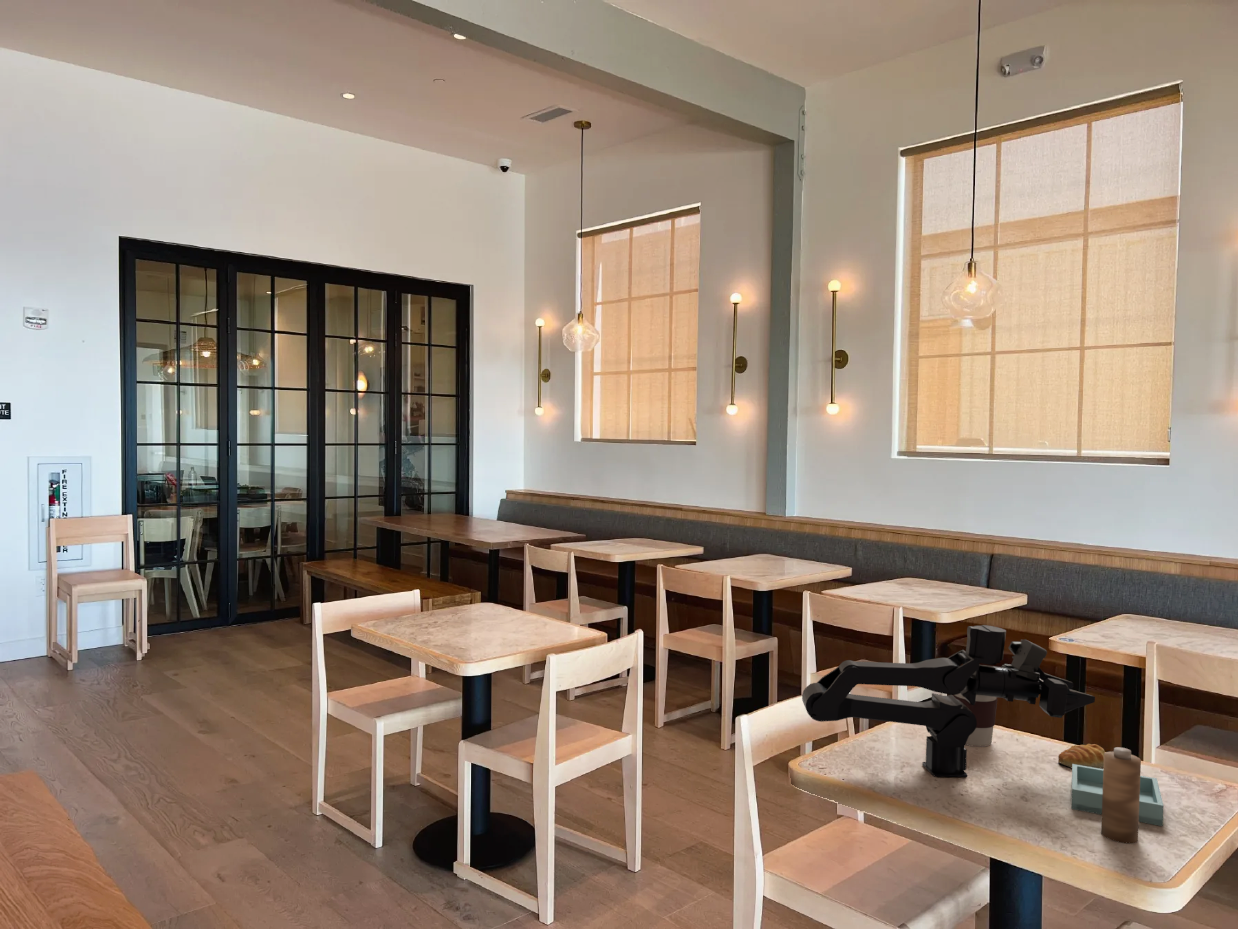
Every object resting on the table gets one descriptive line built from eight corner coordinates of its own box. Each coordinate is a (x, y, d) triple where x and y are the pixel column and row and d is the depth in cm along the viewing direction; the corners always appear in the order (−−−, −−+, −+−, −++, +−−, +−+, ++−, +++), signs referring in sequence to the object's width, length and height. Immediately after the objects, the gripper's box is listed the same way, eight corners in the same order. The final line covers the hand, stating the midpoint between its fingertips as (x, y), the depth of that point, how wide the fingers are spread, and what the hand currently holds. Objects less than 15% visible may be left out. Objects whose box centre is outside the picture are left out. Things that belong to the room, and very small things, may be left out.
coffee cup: (993, 753, 178) (996, 681, 178) (943, 743, 184) (945, 673, 183) (1002, 739, 187) (1004, 670, 186) (954, 730, 192) (956, 663, 192)
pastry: (1075, 773, 169) (1076, 754, 169) (1048, 761, 175) (1048, 742, 175) (1112, 768, 172) (1113, 749, 172) (1084, 757, 178) (1084, 738, 178)
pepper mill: (1113, 843, 139) (1116, 755, 138) (1094, 828, 144) (1097, 744, 143) (1145, 843, 139) (1148, 756, 138) (1125, 829, 144) (1128, 744, 143)
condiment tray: (1071, 808, 152) (1072, 789, 151) (1071, 782, 164) (1072, 764, 163) (1162, 826, 145) (1163, 805, 145) (1156, 797, 157) (1156, 778, 157)
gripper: (1022, 652, 157) (1112, 663, 156) (987, 630, 176) (1067, 639, 174) (1015, 713, 157) (1104, 724, 156) (981, 684, 176) (1060, 693, 175)
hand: (1083, 692), depth 165 cm, fingers open, 9 cm apart
